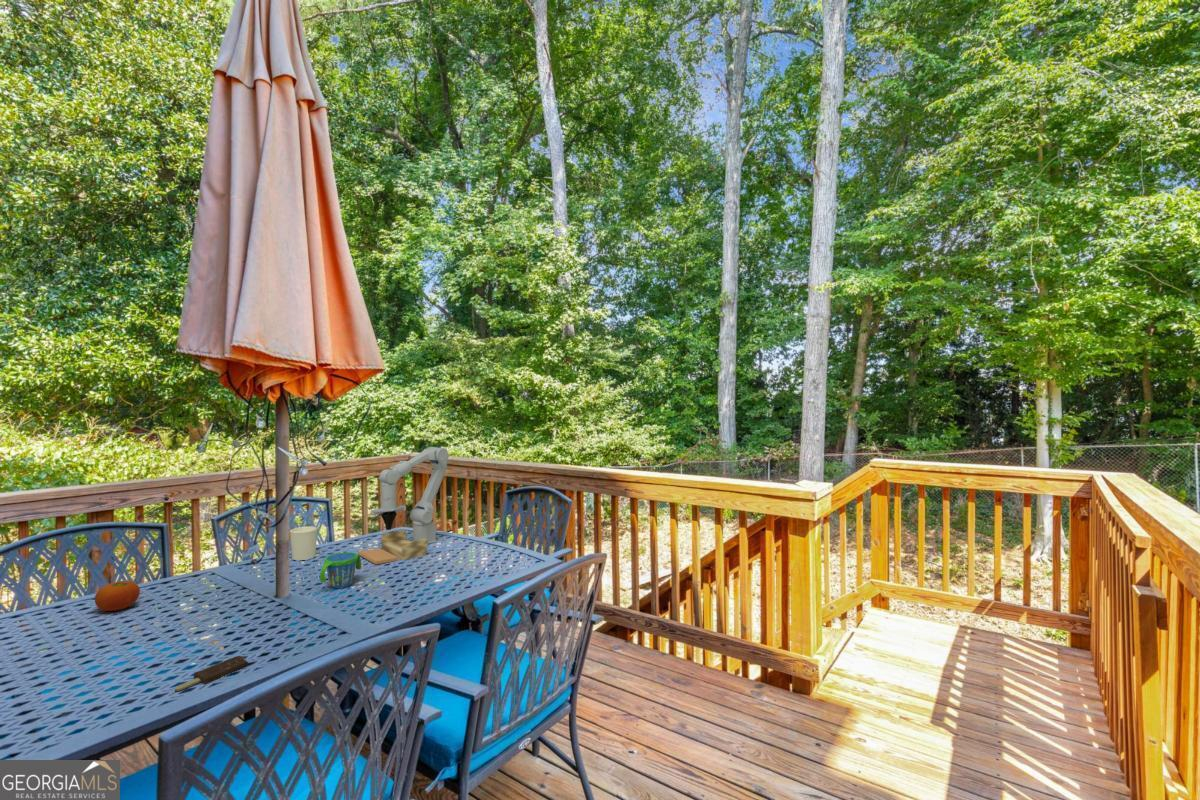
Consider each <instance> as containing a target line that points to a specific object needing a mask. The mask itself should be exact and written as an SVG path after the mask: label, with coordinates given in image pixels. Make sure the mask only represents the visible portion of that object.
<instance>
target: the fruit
mask: <svg viewBox="0 0 1200 800" xmlns="http://www.w3.org/2000/svg"><path fill="white" fill-rule="evenodd" d="M140 593H141V589H140V586H139V585H138V584H137V583H136V582H135V581H131V580H121V581H113V582H110V583H109V584H106V585H104V586H102V587H100V588H99V589H98V591H97V592H96V593H95V595H94V603H95V606H96V607H97V608H98V610H101V611H102V612H103V611H104V612H113V611H121V610H124V609H126V608H129V607H130V606H132V605H133V604H134V603H135V602H136V601H137V600H138V599H139V597H140Z"/></svg>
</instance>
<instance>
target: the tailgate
mask: <svg viewBox="0 0 1200 800" xmlns="http://www.w3.org/2000/svg"><path fill="white" fill-rule="evenodd" d="M357 555H359V556H360V557H362V558H364V559H365V560H368V561H369V562H370V563H372V564H374V565H379V564H386V563H390V562H391V563H392V562H397V561H399V558H398V557H396V556H394V555H392V554H390V553H388V552H386V551H384V550H382V548H380V547H379V548H372V549H364V550H359V551H357Z"/></svg>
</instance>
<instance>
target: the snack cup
mask: <svg viewBox="0 0 1200 800" xmlns="http://www.w3.org/2000/svg"><path fill="white" fill-rule="evenodd" d="M361 568H362V559H361V556H360V555H358V553H356V552H349V551H347V552H337V553H333V554H329V555H328V556H326V557H325V558H324V563H323V564H322V567H321V569H320V575H319V580H320V582H321V583H326V582H327V579H326V573H325V572H327V577H328V585H329V586H330V588H332V589H343V588H346V587H349V586H350V585H353V584H354V580H355V574H356V569H357V570H361Z"/></svg>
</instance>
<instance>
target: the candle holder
mask: <svg viewBox="0 0 1200 800" xmlns="http://www.w3.org/2000/svg"><path fill="white" fill-rule="evenodd" d="M289 533H290V549H291V550H290V553H291V560H292V559H294V560H305V559H310V558H313V557H315V558H316V551H317V537H318V527H317V526H308V525H307V526H298V527H296V528H295V527H294V528H292V529H289Z"/></svg>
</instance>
